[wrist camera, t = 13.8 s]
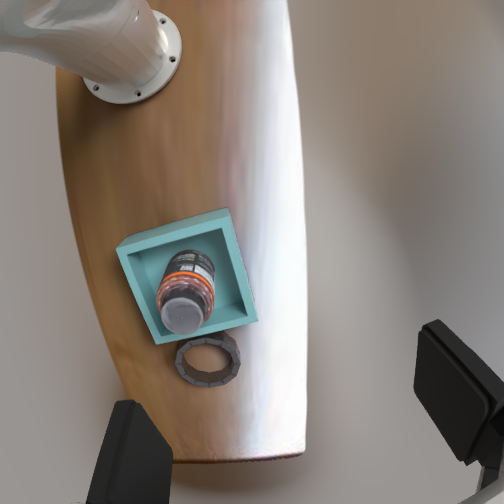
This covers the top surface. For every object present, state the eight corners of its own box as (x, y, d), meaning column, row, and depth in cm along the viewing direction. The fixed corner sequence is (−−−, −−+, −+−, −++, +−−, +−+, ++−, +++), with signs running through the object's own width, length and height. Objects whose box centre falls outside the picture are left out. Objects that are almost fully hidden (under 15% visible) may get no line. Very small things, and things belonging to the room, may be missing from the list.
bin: (127, 235, 38) (115, 248, 33) (228, 206, 37) (228, 216, 33) (162, 323, 42) (156, 344, 37) (254, 301, 42) (258, 321, 37)
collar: (168, 335, 43) (166, 346, 40) (228, 321, 43) (229, 332, 40) (190, 380, 46) (188, 391, 43) (245, 369, 46) (246, 379, 43)
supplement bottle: (182, 299, 40) (170, 352, 29) (158, 260, 38) (136, 304, 27) (224, 280, 39) (225, 330, 29) (201, 239, 37) (192, 277, 27)
